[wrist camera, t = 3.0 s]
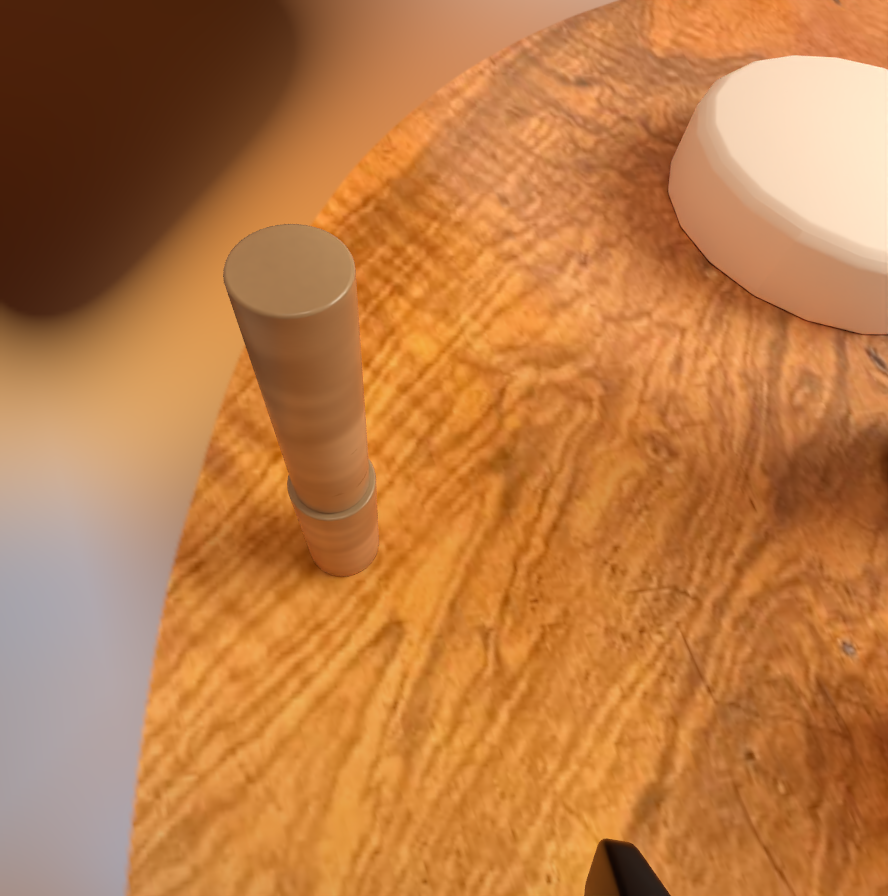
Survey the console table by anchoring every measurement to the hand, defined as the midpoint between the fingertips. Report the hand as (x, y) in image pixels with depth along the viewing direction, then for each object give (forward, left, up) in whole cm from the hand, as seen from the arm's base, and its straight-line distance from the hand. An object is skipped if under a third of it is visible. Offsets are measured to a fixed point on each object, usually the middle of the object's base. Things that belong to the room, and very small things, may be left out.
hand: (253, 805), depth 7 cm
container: (+39, +15, -14) cm, 44 cm away
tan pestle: (+3, +8, -14) cm, 16 cm away
